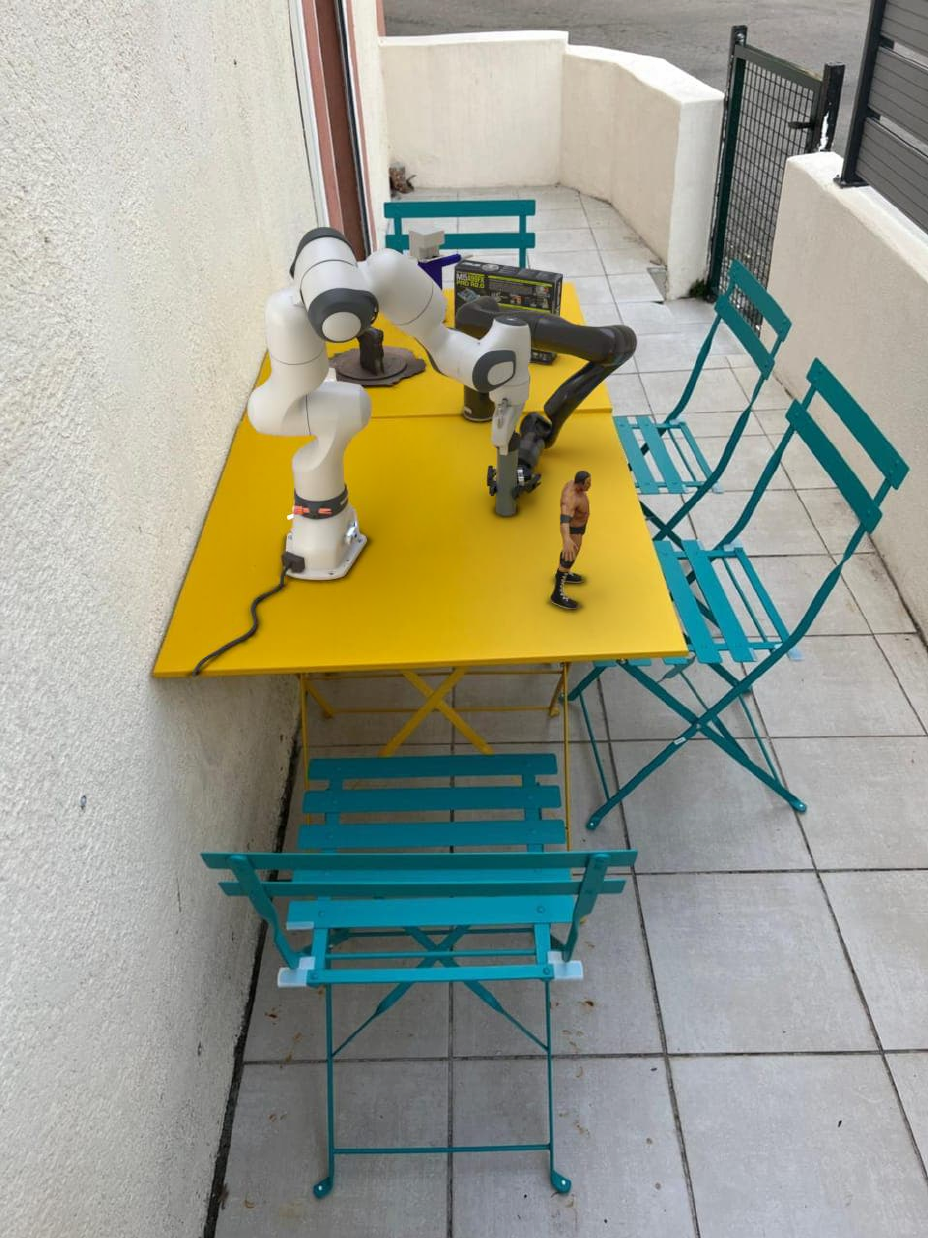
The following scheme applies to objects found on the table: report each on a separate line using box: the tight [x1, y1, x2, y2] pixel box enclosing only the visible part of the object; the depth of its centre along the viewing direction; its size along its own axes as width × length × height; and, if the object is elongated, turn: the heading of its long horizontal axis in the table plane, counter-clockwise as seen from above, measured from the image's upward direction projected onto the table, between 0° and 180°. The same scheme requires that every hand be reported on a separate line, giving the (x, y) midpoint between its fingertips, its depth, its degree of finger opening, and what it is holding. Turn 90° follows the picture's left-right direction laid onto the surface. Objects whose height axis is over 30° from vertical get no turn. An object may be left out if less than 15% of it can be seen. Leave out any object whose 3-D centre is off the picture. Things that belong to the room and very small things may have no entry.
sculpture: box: [328, 325, 426, 387], centre depth 273 cm, size 33×35×16 cm
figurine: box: [550, 470, 592, 610], centre depth 182 cm, size 24×6×30 cm, turn 168°
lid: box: [494, 431, 521, 452], centre depth 204 cm, size 6×6×2 cm
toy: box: [408, 223, 474, 323], centre depth 298 cm, size 35×10×30 cm, turn 130°
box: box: [453, 259, 564, 365], centre depth 278 cm, size 34×7×27 cm, turn 68°
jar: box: [495, 448, 518, 517], centre depth 210 cm, size 5×5×20 cm
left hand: (507, 445), depth 205 cm, fingers open, 6 cm apart
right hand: (503, 494), depth 210 cm, fingers closed on jar, 5 cm apart
